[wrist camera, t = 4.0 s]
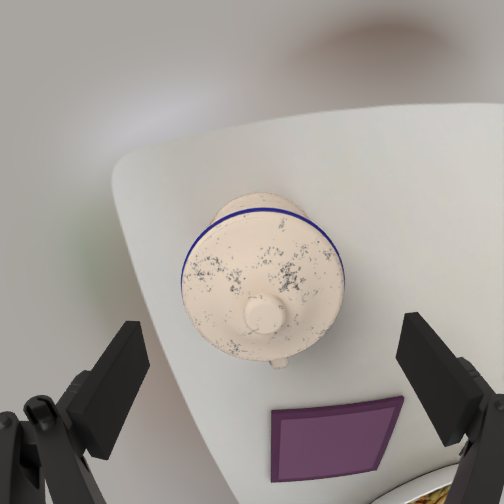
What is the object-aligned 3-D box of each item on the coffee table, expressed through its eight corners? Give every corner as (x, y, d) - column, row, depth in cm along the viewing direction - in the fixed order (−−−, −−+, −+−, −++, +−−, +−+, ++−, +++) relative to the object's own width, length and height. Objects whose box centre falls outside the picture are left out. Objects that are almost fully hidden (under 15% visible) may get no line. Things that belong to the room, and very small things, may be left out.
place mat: (270, 479, 35) (270, 483, 35) (271, 410, 31) (271, 414, 30) (375, 467, 35) (376, 470, 35) (402, 395, 31) (404, 399, 30)
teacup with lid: (192, 201, 25) (142, 243, 13) (308, 179, 24) (353, 203, 13) (225, 334, 28) (210, 433, 17) (326, 317, 27) (362, 409, 16)
